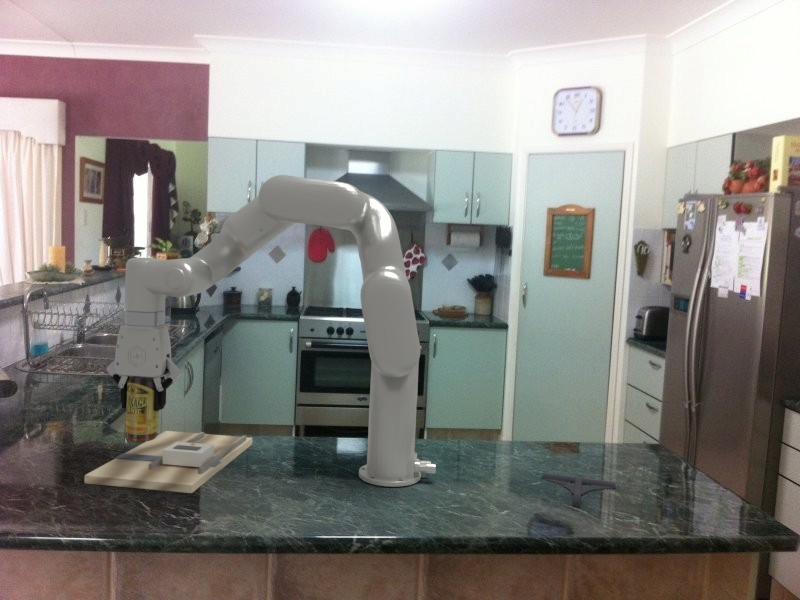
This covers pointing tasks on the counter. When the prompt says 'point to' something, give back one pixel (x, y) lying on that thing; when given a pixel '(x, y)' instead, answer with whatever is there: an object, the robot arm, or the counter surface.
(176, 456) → the white rectangular box
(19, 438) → the counter surface
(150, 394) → the sauce bottle
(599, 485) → the bracket
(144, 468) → the wooden cutting board
